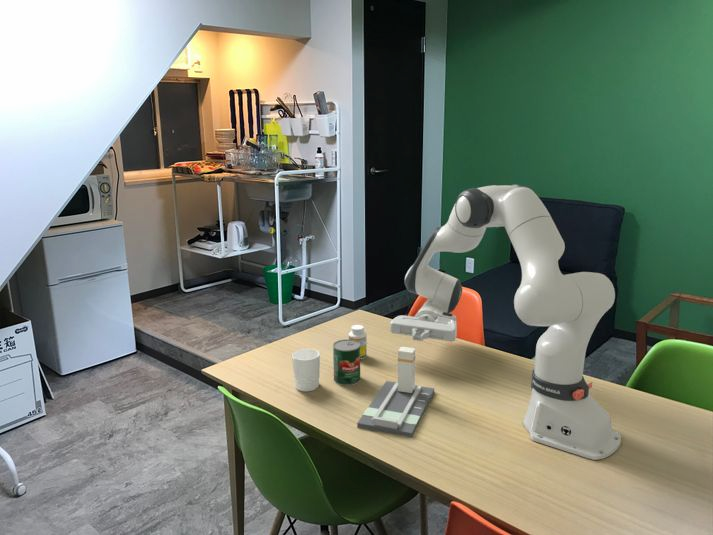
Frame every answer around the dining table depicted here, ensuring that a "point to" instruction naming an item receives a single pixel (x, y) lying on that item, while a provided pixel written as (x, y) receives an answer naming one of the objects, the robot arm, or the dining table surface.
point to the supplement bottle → (359, 339)
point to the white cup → (306, 369)
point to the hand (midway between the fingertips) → (417, 338)
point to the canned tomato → (346, 362)
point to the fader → (406, 369)
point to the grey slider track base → (396, 410)
